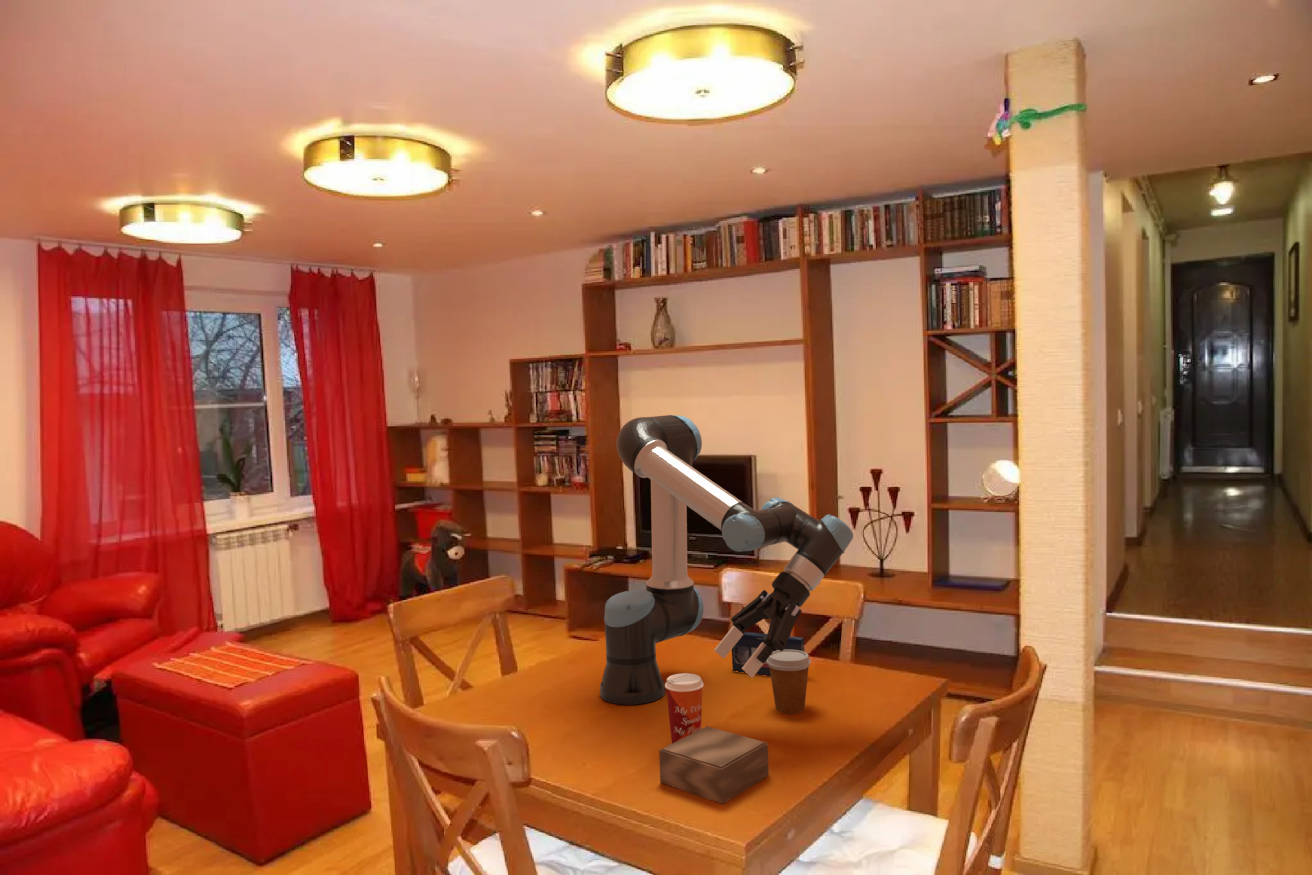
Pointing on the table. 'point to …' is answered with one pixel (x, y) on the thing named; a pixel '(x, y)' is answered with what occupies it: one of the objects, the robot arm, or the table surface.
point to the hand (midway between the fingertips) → (732, 663)
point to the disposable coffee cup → (789, 679)
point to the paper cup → (684, 704)
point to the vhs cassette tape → (749, 646)
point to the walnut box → (714, 764)
